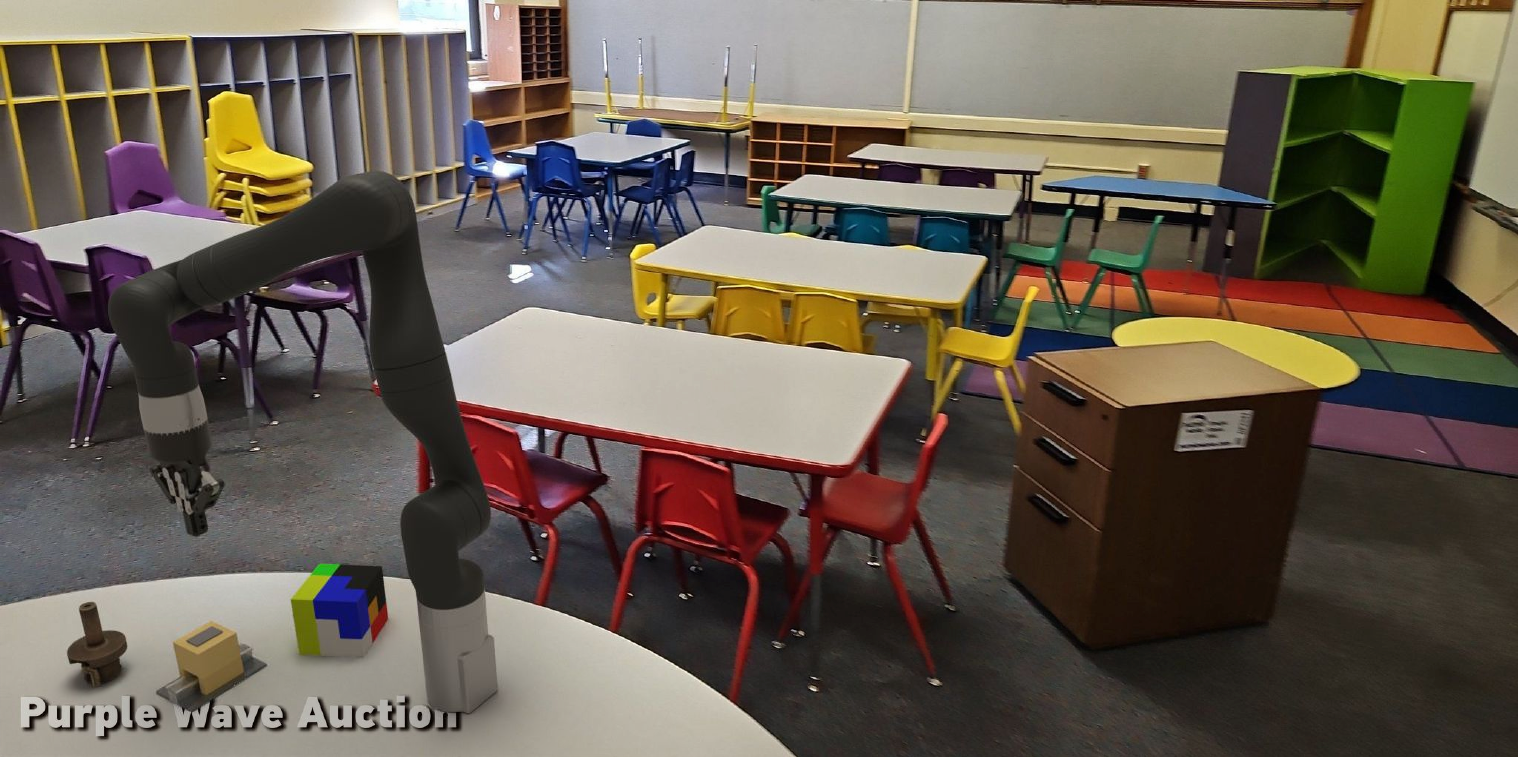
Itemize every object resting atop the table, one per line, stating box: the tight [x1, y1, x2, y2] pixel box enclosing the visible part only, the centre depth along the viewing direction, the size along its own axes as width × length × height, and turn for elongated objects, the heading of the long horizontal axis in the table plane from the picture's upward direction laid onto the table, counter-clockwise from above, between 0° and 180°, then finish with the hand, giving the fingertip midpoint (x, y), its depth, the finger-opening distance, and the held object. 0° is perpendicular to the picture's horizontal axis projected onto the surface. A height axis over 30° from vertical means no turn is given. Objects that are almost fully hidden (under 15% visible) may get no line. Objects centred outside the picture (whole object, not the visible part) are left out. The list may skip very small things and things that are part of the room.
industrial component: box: [66, 601, 128, 688], centre depth 145 cm, size 9×7×12 cm
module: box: [172, 620, 244, 695], centre depth 145 cm, size 6×6×7 cm
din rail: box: [155, 642, 268, 713], centre depth 146 cm, size 8×12×2 cm, turn 152°
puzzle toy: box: [290, 563, 389, 658], centre depth 156 cm, size 10×10×10 cm
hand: (197, 533), depth 140 cm, fingers closed
